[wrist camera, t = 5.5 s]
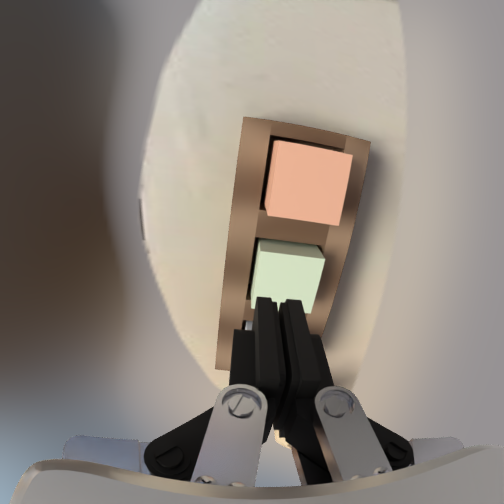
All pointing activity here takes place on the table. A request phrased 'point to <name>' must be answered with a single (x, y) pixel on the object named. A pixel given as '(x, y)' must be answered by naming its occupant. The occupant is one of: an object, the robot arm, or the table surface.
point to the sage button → (286, 271)
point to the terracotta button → (306, 183)
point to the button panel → (282, 224)
